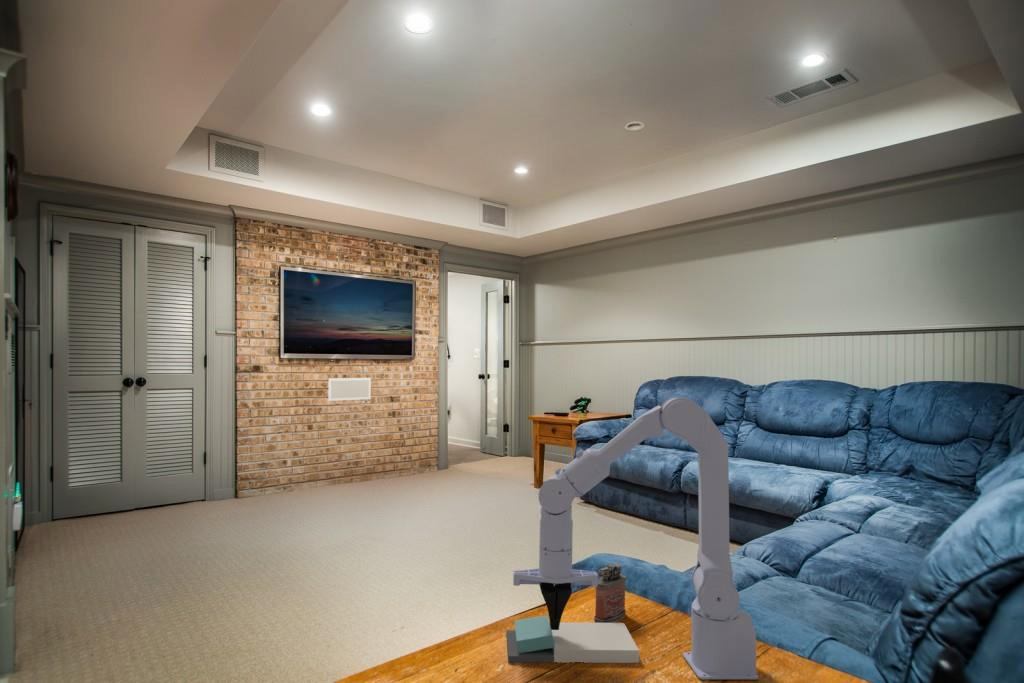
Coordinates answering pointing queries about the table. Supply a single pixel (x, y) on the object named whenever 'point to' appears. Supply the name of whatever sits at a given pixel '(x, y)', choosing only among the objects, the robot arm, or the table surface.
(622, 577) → the lighter
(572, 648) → the plinth
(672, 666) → the table surface
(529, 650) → the tile
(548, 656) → the mat
